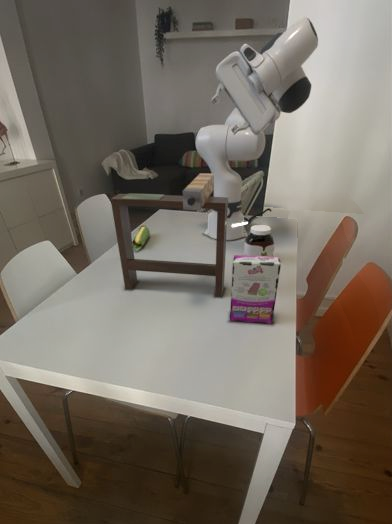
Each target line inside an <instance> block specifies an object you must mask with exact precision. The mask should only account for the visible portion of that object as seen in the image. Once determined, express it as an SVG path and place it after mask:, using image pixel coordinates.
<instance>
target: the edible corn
mask: <svg viewBox="0 0 392 524" xmlns="http://www.w3.org/2000/svg"><path fill="white" fill-rule="evenodd" d="M150 234H151V232H150V230H149V227H147V226H146V225H141V226H140V227H139V228H138V229H137V231H136V234H135V236H134V238H133V239H132V244H133V249H134V250H135V251H136V252H138V251H140V250H141V249H142V248H143V246H144V245H145V243H146V242H147V241H148V239H149V237H150V236H151V235H150Z"/></svg>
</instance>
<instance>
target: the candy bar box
mask: <svg viewBox="0 0 392 524" xmlns="http://www.w3.org/2000/svg"><path fill="white" fill-rule="evenodd" d="M232 259H233V260H232V270H231V287H230V289H231V290H230V306H229V307H230V309H229V310H230V311H229V321H230V322H237V323H252V324H253V323H255V324H268V325H269V324H270V325H271V324H273V321H274V320H273V319H274V314H275V308H276V307H275V306H276V300H277V299H276V298H277V294H278V287H279V280H280V273H281V268H282V267H281V266H282V264H281V258H280V256H276V255H272V256H245V255H244V254H241V255H239V254H234V255H233V258H232Z"/></svg>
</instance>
